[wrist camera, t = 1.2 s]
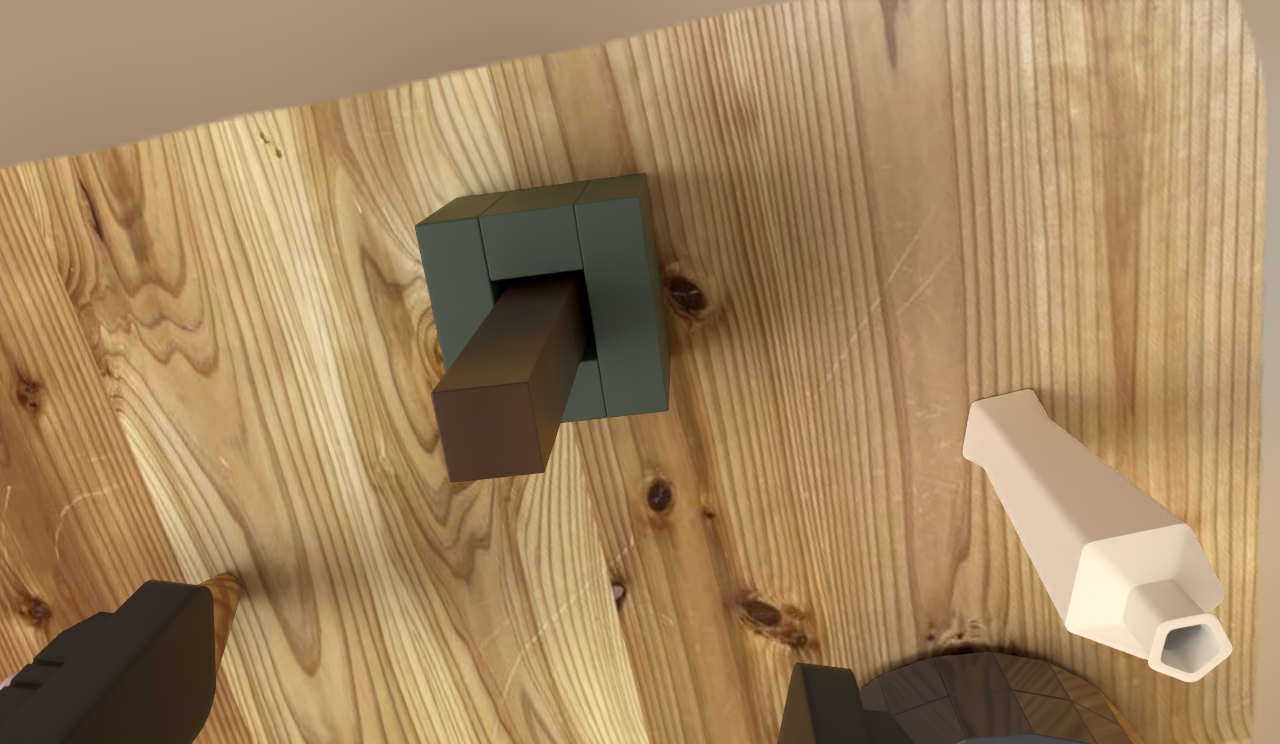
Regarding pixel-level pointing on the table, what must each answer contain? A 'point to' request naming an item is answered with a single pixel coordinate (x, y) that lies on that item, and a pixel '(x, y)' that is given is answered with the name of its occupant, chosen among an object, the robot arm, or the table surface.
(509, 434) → the brown rectangular peg
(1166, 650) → the perfume bottle
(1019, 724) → the bowl
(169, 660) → the robot arm
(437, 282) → the holder
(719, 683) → the table surface
